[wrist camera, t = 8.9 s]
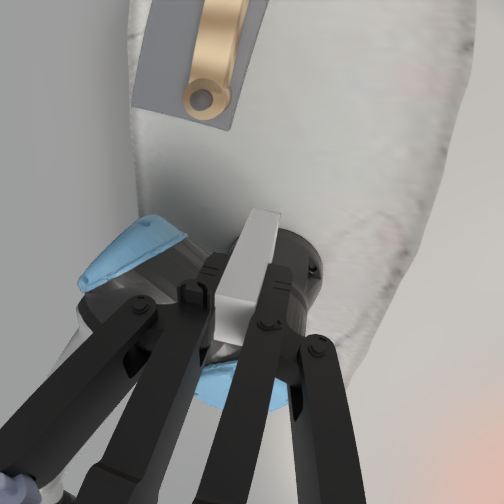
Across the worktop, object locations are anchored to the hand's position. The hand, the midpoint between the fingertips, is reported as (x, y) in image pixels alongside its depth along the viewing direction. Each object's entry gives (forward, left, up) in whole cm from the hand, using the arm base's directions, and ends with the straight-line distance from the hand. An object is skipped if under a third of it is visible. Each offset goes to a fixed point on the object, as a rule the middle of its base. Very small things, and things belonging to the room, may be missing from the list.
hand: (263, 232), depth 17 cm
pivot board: (+12, +15, -24) cm, 31 cm away
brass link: (+8, +11, -23) cm, 27 cm away
